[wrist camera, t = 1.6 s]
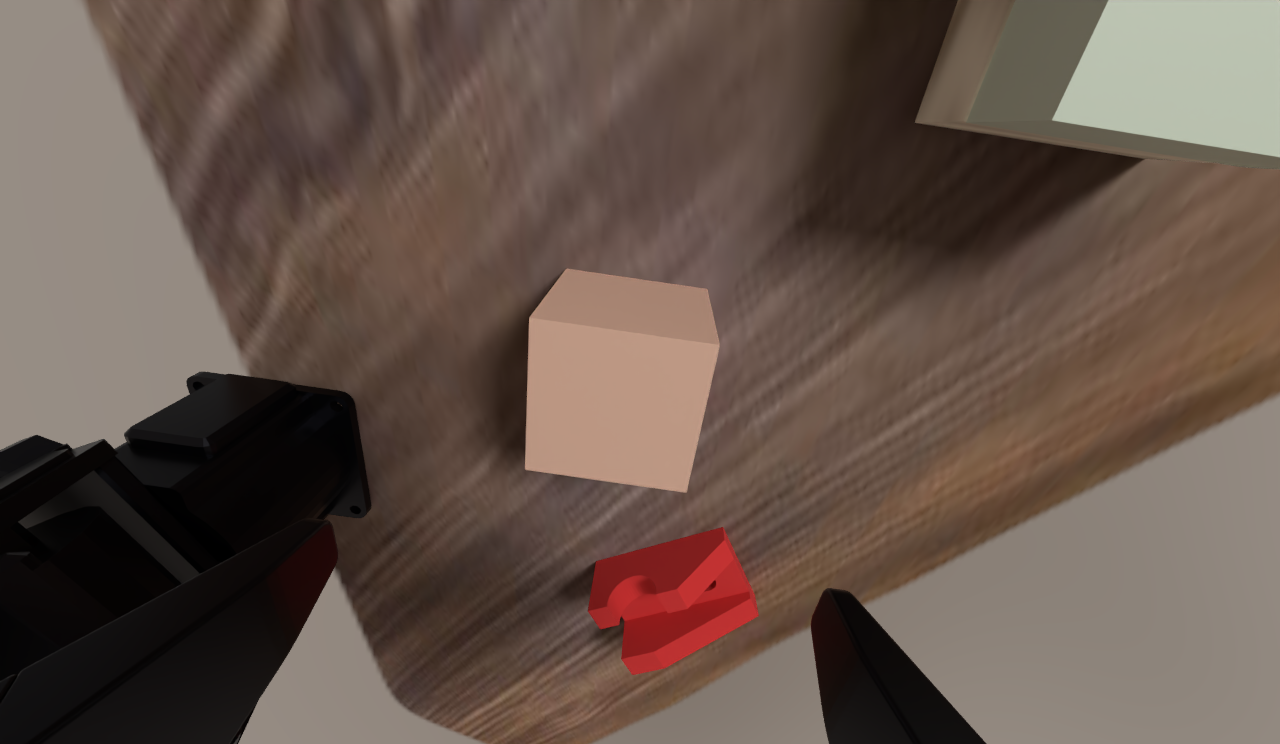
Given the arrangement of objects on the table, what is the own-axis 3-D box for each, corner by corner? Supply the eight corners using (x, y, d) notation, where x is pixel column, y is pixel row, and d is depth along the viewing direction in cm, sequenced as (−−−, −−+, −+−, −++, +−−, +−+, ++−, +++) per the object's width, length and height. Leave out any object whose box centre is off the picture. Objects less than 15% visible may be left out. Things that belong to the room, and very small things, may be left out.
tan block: (682, 408, 19) (686, 492, 15) (558, 390, 19) (525, 469, 15) (707, 288, 17) (719, 345, 12) (566, 268, 17) (529, 317, 12)
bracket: (636, 617, 25) (632, 675, 23) (596, 556, 24) (587, 611, 21) (753, 589, 24) (764, 647, 21) (722, 521, 22) (729, 576, 19)
